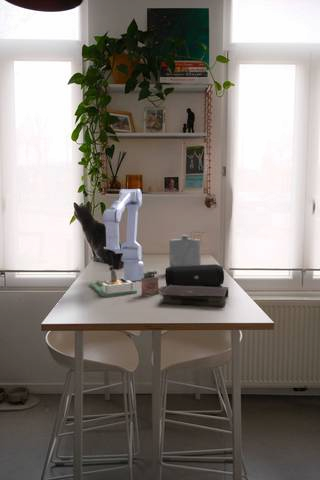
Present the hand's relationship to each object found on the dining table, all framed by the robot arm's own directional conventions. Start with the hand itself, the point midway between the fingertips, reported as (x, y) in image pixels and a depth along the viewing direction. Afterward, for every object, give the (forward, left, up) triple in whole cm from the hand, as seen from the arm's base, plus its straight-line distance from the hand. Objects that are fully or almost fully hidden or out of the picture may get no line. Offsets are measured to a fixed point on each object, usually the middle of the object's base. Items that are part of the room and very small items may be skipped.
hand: (113, 267), depth 206 cm
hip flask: (-44, -19, -11) cm, 49 cm away
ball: (0, +6, -7) cm, 9 cm away
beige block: (0, 0, -9) cm, 9 cm away
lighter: (-12, +14, -11) cm, 21 cm away
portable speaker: (-35, +9, -11) cm, 38 cm away
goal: (0, +6, -10) cm, 12 cm away
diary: (-25, +31, -11) cm, 41 cm away
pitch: (0, -2, -10) cm, 11 cm away
